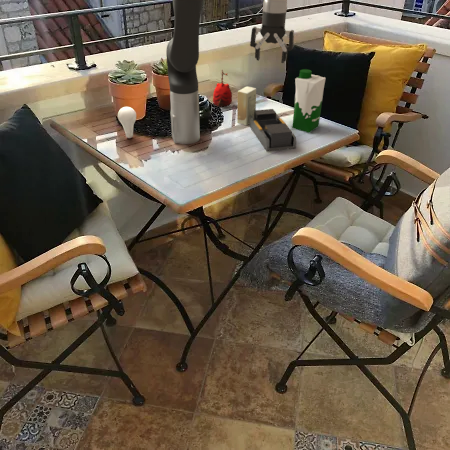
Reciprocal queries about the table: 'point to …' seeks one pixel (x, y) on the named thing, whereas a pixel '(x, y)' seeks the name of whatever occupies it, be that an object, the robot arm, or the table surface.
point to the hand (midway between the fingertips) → (270, 61)
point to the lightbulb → (127, 120)
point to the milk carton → (308, 101)
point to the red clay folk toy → (222, 94)
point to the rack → (272, 131)
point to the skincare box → (246, 105)
